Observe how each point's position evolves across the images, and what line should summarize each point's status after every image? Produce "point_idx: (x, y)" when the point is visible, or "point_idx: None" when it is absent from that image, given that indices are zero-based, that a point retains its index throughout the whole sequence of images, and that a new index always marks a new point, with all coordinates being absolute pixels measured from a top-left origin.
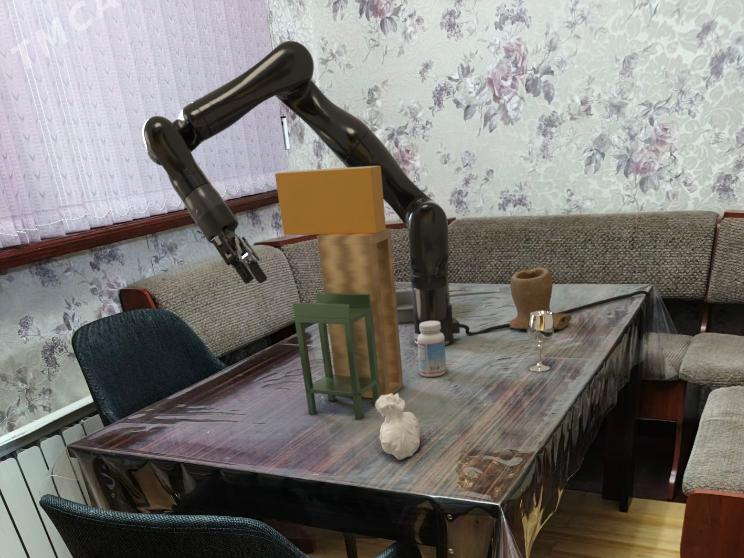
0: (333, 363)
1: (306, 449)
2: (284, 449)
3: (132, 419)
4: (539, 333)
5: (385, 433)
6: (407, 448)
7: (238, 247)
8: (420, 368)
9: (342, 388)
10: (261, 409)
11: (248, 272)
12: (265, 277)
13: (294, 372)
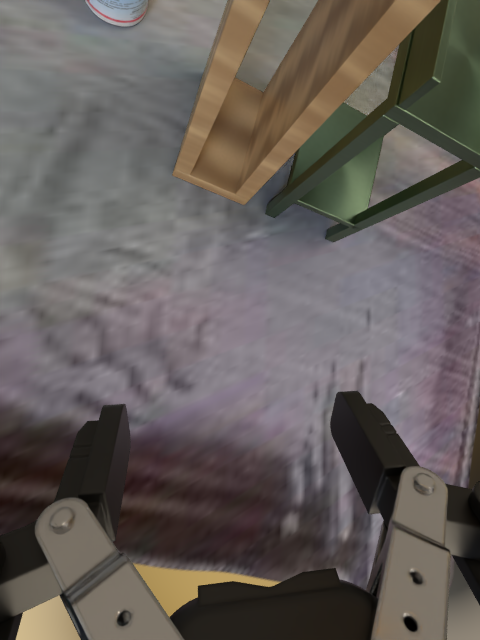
0: (270, 177)
1: (444, 218)
2: (445, 249)
3: (353, 580)
4: None
5: None
6: None
7: (426, 579)
8: (133, 13)
9: (363, 155)
10: (311, 340)
11: (370, 416)
12: (125, 408)
13: (74, 346)
